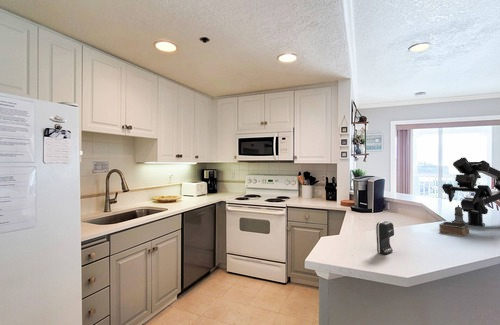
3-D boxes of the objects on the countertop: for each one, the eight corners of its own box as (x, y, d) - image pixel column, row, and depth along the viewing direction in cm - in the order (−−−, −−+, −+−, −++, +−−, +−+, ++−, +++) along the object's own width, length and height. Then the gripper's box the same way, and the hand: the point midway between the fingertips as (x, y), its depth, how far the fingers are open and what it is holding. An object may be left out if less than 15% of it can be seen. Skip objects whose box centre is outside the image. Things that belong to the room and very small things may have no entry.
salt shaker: (470, 230, 117) (469, 205, 117) (458, 230, 117) (457, 205, 118) (460, 227, 123) (459, 203, 123) (448, 227, 123) (447, 204, 123)
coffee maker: (387, 256, 87) (386, 224, 88) (376, 253, 90) (375, 222, 91) (396, 251, 91) (394, 221, 92) (385, 249, 95) (384, 219, 95)
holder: (445, 229, 121) (445, 221, 121) (469, 232, 114) (468, 224, 114) (439, 232, 116) (439, 224, 116) (464, 236, 108) (464, 227, 108)
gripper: (442, 169, 133) (433, 190, 128) (488, 168, 117) (479, 193, 111) (450, 182, 137) (441, 204, 131) (495, 184, 121) (487, 208, 115)
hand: (460, 202), depth 122 cm, fingers open, 9 cm apart
